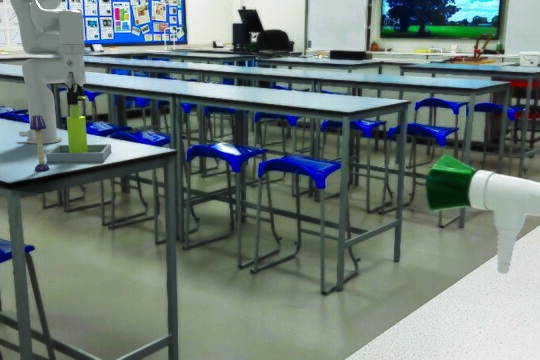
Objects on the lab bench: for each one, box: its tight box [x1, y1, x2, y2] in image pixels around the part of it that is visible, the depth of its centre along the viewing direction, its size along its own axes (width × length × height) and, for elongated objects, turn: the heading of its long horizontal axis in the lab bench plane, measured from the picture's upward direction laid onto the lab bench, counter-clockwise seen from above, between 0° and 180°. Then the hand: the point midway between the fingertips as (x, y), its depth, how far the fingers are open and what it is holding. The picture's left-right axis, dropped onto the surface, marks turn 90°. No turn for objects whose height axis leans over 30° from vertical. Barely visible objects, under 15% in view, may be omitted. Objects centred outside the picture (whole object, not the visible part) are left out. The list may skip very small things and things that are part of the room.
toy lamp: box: [29, 115, 50, 172], centre depth 183 cm, size 5×5×17 cm
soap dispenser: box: [66, 96, 88, 153], centre depth 200 cm, size 6×7×20 cm
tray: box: [45, 143, 112, 164], centre depth 202 cm, size 18×16×3 cm
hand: (76, 102), depth 199 cm, fingers open, 9 cm apart
